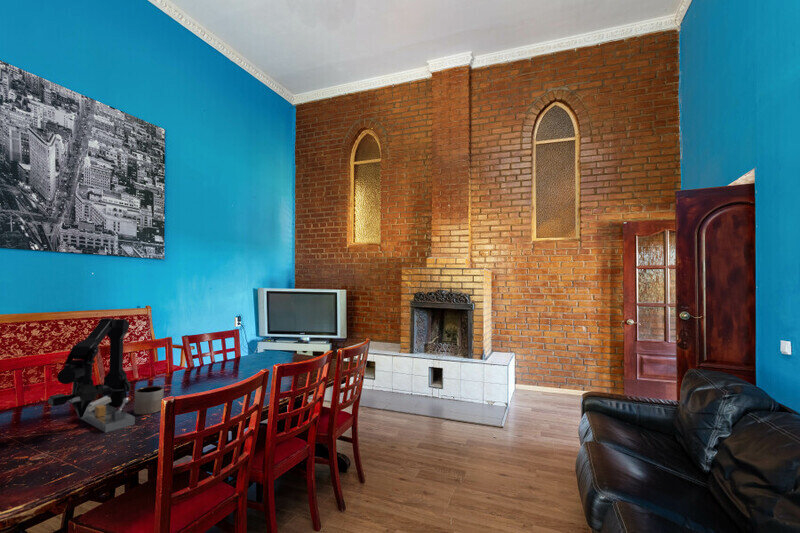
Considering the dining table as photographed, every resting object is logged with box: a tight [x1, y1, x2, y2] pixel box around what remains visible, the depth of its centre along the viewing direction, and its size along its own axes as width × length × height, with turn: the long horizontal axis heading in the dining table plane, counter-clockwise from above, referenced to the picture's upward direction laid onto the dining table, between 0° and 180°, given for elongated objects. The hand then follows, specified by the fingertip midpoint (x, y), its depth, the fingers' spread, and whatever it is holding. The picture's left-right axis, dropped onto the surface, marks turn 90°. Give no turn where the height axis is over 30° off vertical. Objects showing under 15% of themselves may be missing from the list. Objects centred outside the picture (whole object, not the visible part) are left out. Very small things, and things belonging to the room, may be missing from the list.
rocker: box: [86, 395, 112, 412], centre depth 162 cm, size 8×4×2 cm, turn 148°
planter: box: [133, 385, 165, 416], centre depth 171 cm, size 11×11×10 cm
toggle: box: [114, 397, 130, 416], centre depth 154 cm, size 2×2×8 cm
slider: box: [95, 405, 106, 417], centre depth 155 cm, size 2×3×4 cm
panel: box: [79, 404, 136, 433], centre depth 158 cm, size 10×24×5 cm, turn 58°
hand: (80, 417), depth 150 cm, fingers closed
